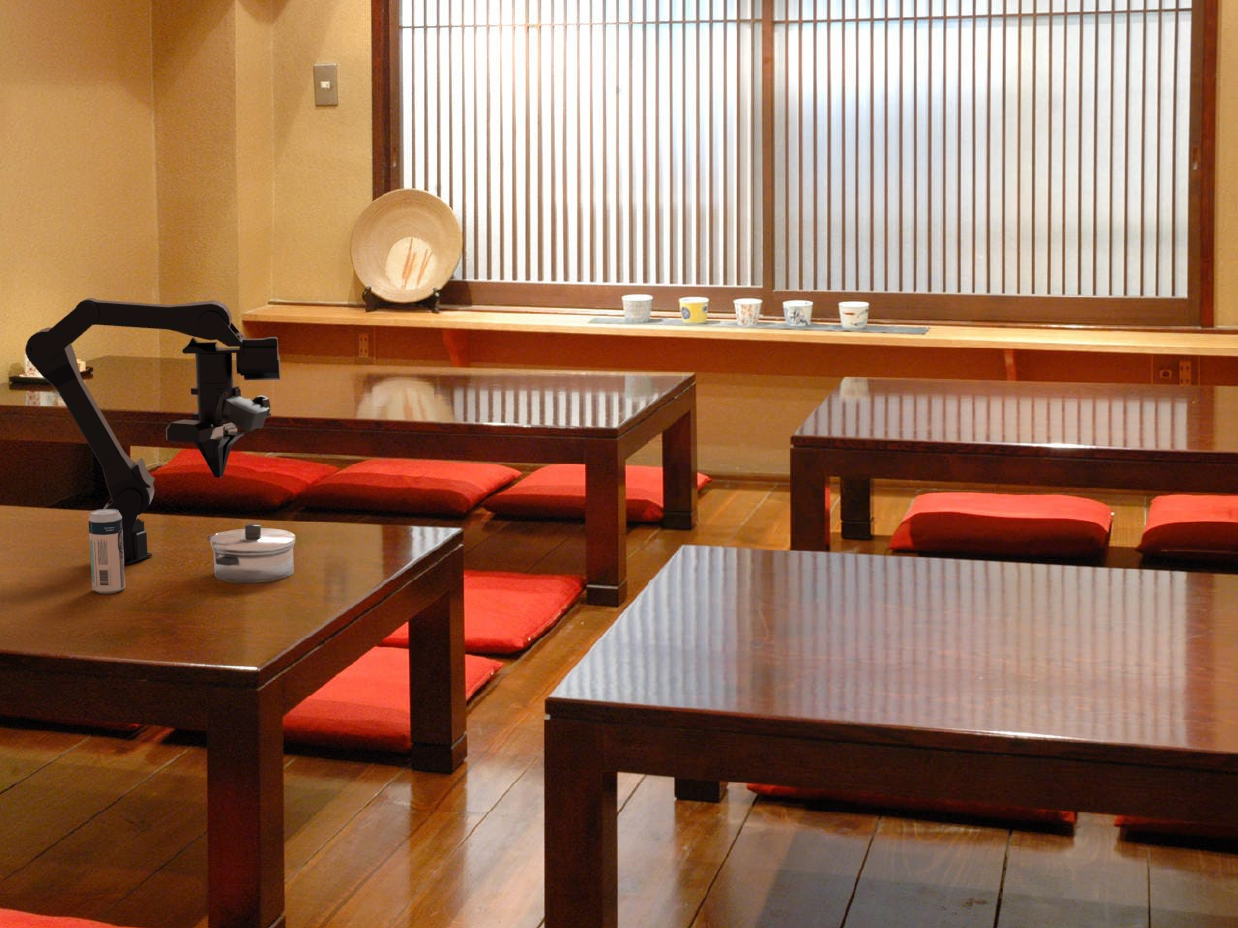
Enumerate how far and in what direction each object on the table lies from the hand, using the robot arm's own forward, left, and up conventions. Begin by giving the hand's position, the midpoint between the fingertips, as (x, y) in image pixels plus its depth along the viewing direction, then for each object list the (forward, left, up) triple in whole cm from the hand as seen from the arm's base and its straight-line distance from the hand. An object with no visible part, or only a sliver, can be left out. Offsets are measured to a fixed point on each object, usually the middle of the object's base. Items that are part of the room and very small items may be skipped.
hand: (218, 477), depth 255 cm
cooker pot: (+11, -7, -13) cm, 18 cm away
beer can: (-3, -24, -13) cm, 28 cm away
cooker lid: (+10, -7, -8) cm, 15 cm away
